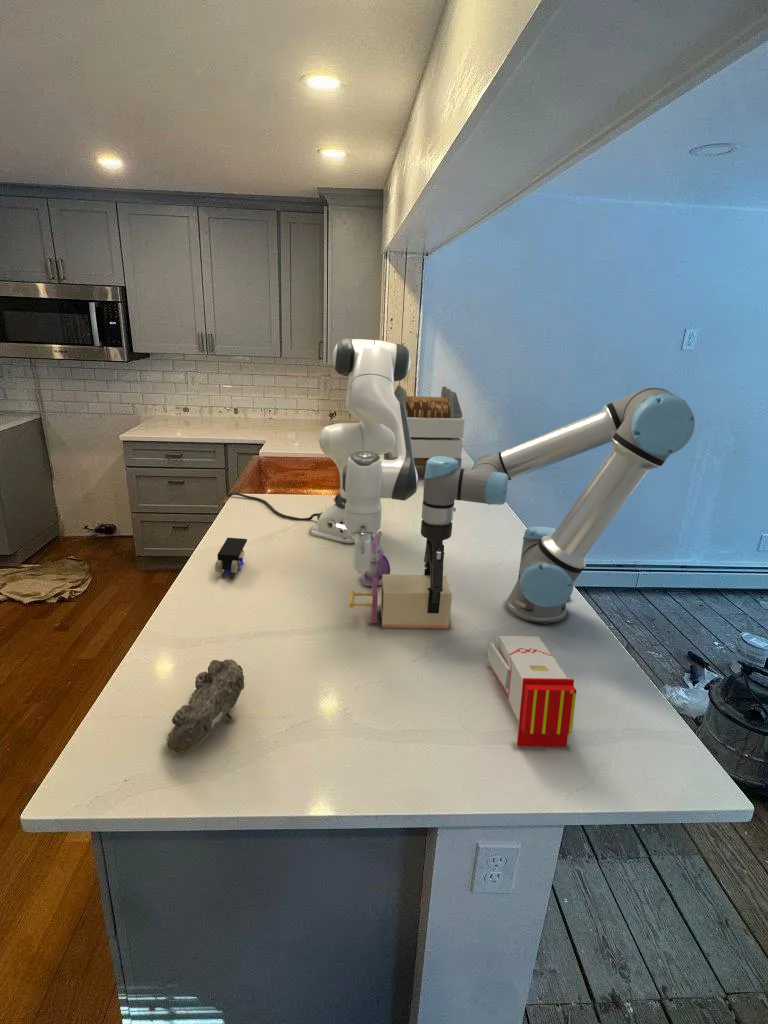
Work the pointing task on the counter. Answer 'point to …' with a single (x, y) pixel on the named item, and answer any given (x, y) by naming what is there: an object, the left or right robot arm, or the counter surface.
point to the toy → (534, 690)
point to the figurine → (376, 562)
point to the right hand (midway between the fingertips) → (430, 601)
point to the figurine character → (230, 556)
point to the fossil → (206, 705)
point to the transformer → (432, 426)
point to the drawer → (373, 600)
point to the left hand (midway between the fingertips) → (361, 572)
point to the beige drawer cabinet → (413, 602)
